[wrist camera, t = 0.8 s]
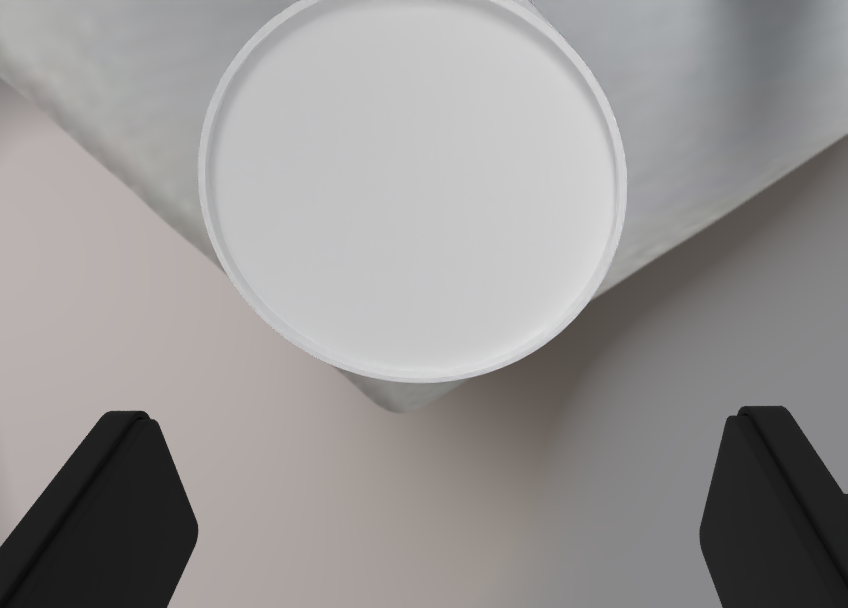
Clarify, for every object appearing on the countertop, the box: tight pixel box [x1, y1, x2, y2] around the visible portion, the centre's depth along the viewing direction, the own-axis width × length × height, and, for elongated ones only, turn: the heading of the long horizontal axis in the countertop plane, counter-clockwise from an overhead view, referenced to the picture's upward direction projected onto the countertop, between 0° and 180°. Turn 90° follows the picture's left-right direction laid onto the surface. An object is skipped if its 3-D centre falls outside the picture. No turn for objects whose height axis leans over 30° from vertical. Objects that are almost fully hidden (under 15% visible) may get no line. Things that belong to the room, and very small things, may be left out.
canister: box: [198, 0, 627, 383], centre depth 28 cm, size 14×14×20 cm
